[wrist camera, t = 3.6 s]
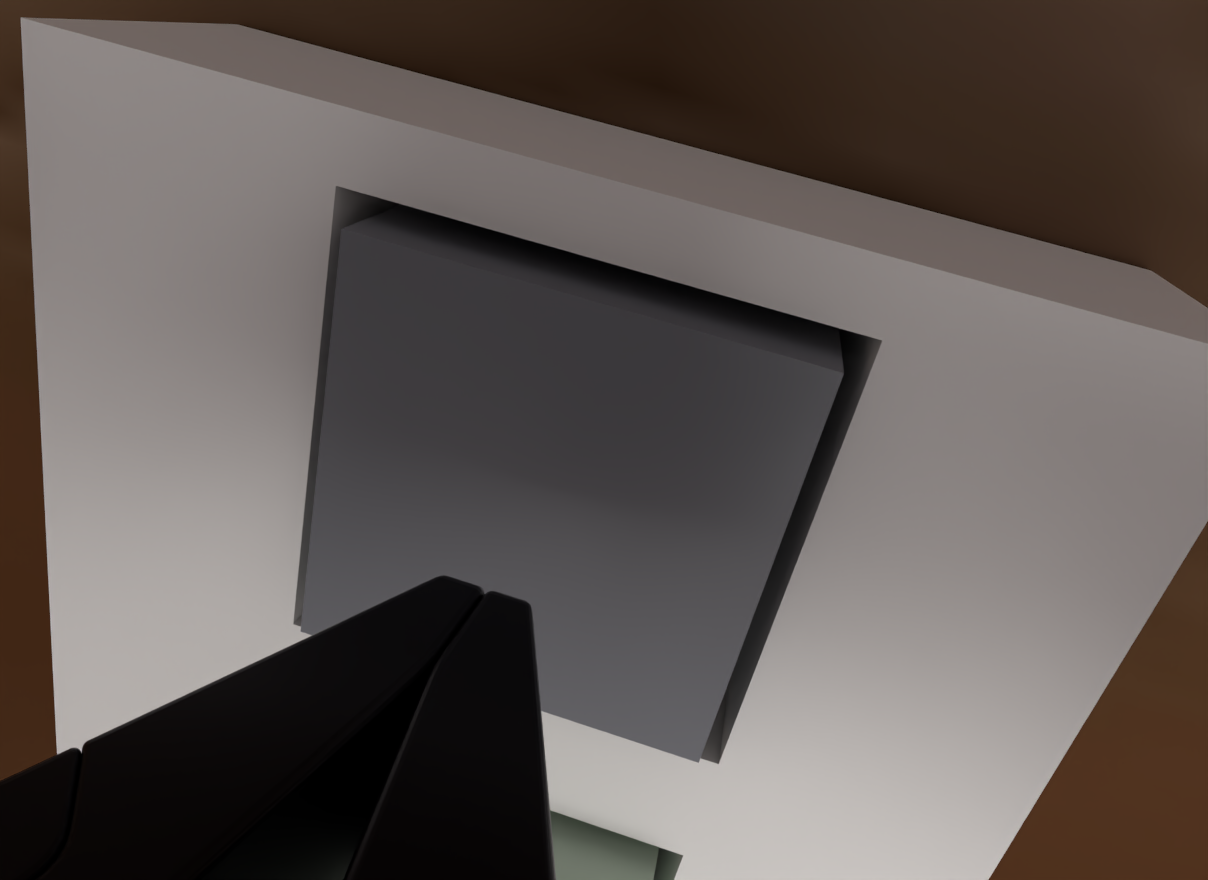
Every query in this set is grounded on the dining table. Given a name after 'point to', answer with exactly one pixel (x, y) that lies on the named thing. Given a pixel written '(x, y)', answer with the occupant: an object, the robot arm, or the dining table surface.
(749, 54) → the dining table surface
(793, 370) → the charcoal button
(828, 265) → the button panel
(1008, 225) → the dining table surface
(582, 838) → the sage button
